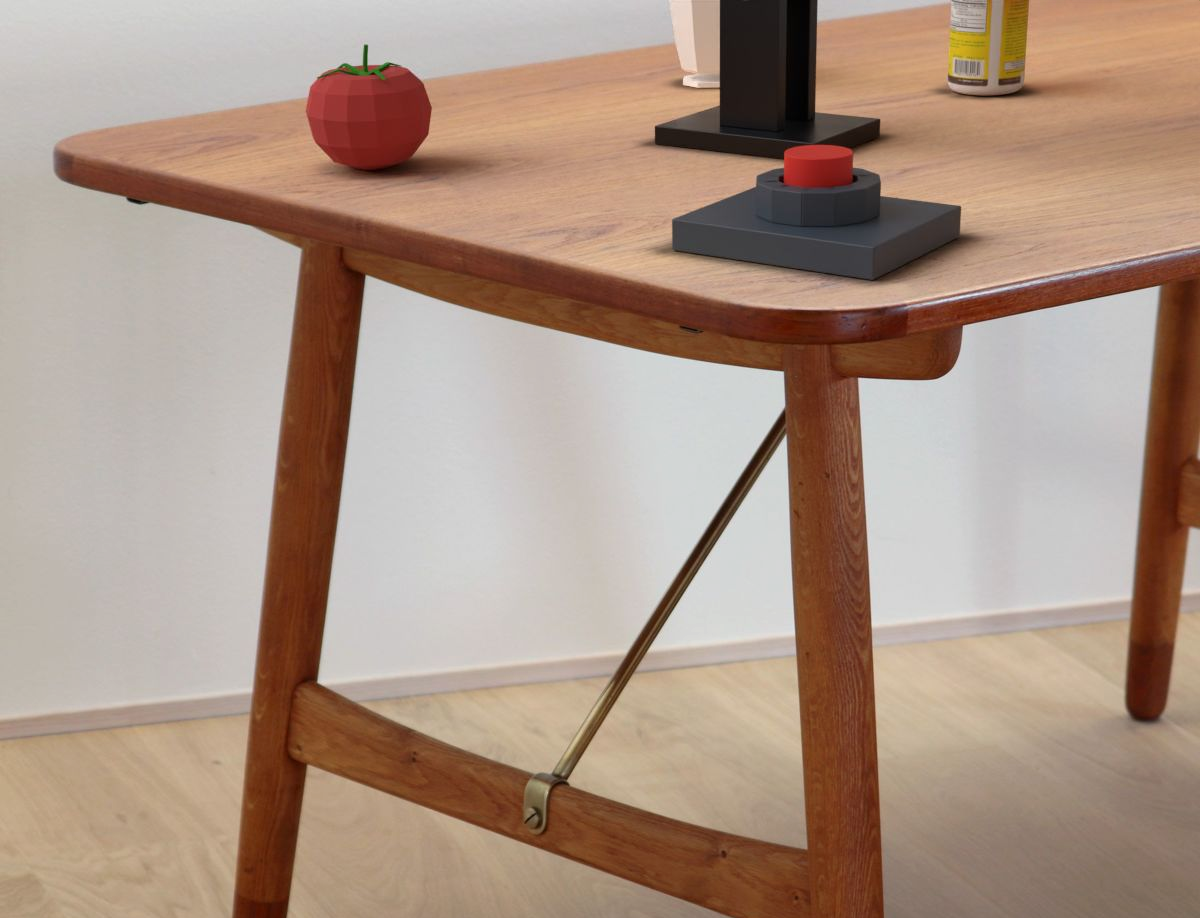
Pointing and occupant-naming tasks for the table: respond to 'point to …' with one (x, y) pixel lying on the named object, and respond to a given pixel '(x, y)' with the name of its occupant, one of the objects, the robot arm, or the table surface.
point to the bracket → (766, 87)
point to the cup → (698, 40)
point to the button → (818, 166)
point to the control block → (818, 227)
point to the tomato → (368, 114)
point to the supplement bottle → (987, 46)
